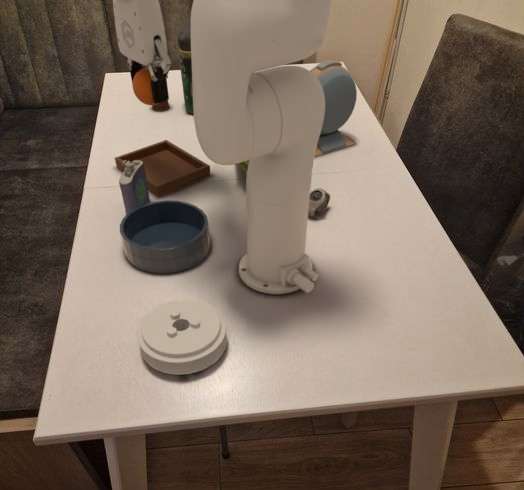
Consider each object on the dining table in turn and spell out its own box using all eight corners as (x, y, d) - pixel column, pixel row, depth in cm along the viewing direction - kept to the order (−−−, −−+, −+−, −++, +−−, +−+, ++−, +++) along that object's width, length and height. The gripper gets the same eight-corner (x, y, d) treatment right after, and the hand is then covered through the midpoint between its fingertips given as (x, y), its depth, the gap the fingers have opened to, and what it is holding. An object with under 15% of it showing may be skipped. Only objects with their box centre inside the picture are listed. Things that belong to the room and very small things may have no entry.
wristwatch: (302, 216, 95) (304, 193, 91) (319, 203, 98) (321, 180, 95) (317, 222, 94) (319, 199, 90) (334, 209, 97) (337, 186, 93)
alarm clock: (332, 128, 122) (341, 49, 109) (357, 143, 117) (370, 62, 104) (286, 142, 117) (289, 60, 104) (309, 158, 112) (316, 74, 98)
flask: (138, 227, 92) (127, 174, 84) (124, 226, 92) (111, 173, 85) (153, 202, 98) (143, 150, 90) (139, 201, 99) (128, 149, 91)
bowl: (226, 249, 88) (225, 225, 84) (155, 285, 81) (150, 261, 77) (178, 214, 95) (175, 191, 92) (109, 244, 88) (103, 221, 85)
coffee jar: (183, 102, 133) (174, 23, 119) (212, 100, 134) (206, 21, 120) (186, 116, 127) (177, 34, 113) (216, 114, 128) (211, 33, 114)
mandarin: (174, 104, 96) (170, 69, 91) (147, 113, 93) (141, 77, 88) (156, 95, 99) (151, 60, 94) (129, 103, 96) (123, 68, 91)
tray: (210, 176, 106) (209, 165, 104) (158, 197, 100) (156, 186, 98) (167, 149, 114) (166, 139, 112) (116, 168, 108) (114, 157, 106)
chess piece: (172, 109, 130) (166, 68, 122) (154, 113, 128) (147, 71, 121) (165, 103, 133) (160, 63, 125) (148, 107, 131) (141, 66, 123)
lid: (134, 378, 67) (127, 354, 64) (148, 316, 76) (142, 291, 72) (225, 378, 67) (223, 355, 64) (229, 316, 76) (227, 291, 72)
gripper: (88, -23, 84) (111, 88, 97) (142, -3, 75) (159, 115, 89) (126, -29, 87) (143, 79, 101) (182, -11, 79) (193, 104, 92)
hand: (151, 95), depth 95 cm, fingers closed on mandarin, 6 cm apart
